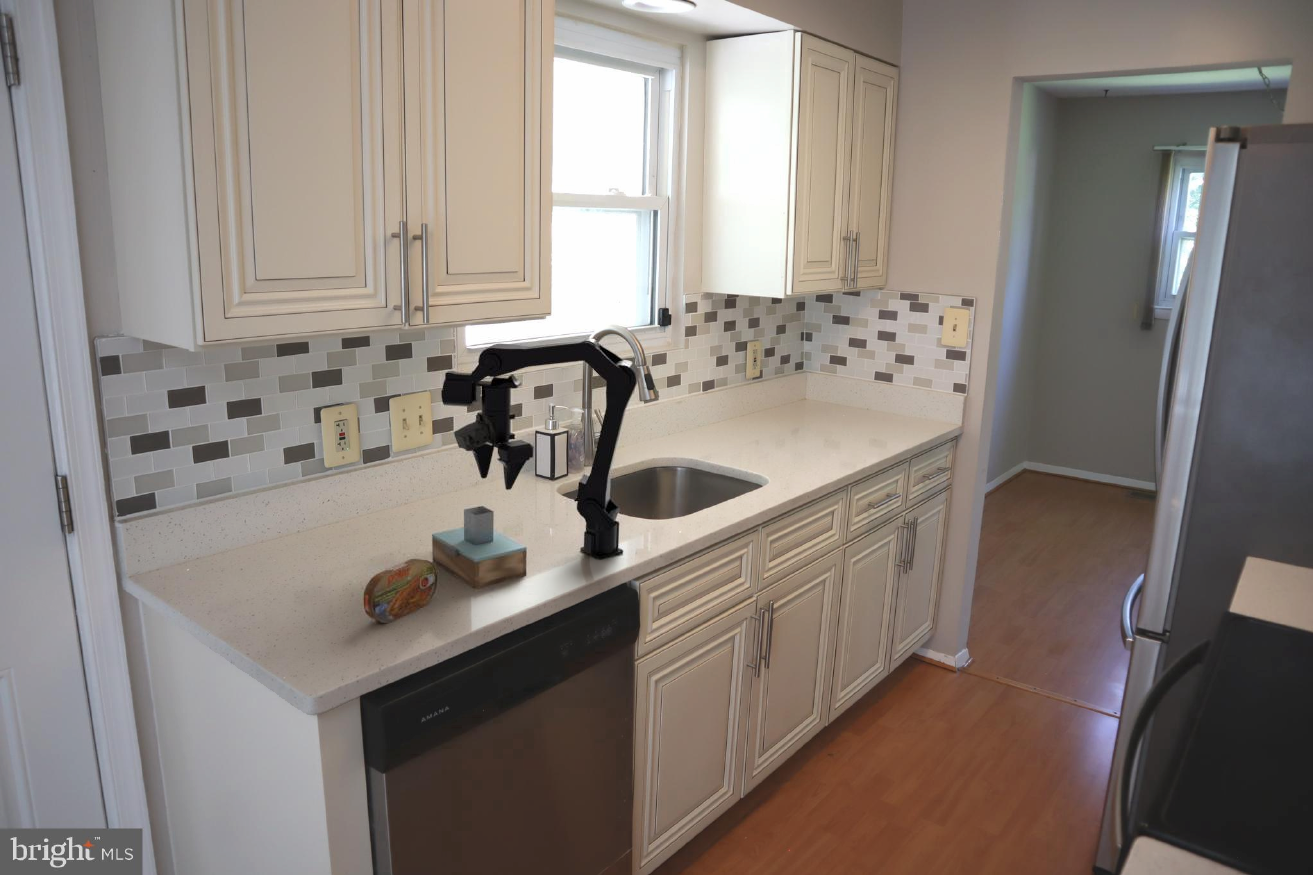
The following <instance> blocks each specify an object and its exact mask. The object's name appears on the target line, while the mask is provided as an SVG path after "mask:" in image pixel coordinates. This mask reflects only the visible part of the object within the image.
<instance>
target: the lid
mask: <svg viewBox="0 0 1313 875" xmlns="http://www.w3.org/2000/svg"><path fill="white" fill-rule="evenodd" d="M432 537H433V538H435V539H437V540H438V541H440V542H442V543H443V544H444V551H446V552H447V553H449V554H451V555H452V556H454V557H458V552H459V553H460V554H462V555H464V556H465V557H467V558H469V559H471V560H472V561H474V562H479V561H483V560H487V559H492V558H496V557H500V556H504V555H508V554H512V553H517V552H521V551H525V550H527V546H526V545H523V544H521V543H519V542H518V541H516V540H514V539H512V538H510V537H508V535H507V536H506V535H505V534H503V533H501V532H498V531H497V530H495V529H493V542H489V543H484V544H480V545H476V546H475V545H473V544H471V543H469V542H468V541H466V540H464V526H463V527H458V528H453V529H449V530H446V531H445V530H444V531H439V532H434V533H431V538H432Z"/></svg>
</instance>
